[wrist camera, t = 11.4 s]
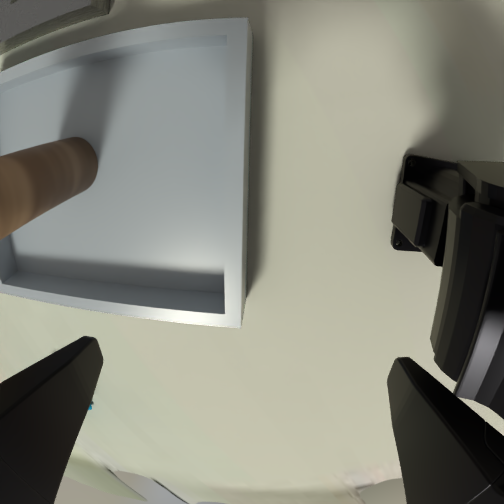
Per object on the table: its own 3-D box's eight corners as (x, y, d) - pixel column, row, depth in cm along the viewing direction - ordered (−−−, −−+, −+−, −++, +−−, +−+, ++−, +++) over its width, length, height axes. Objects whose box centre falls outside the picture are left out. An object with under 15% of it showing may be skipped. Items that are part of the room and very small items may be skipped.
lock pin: (85, 126, 17) (-101, 181, 5) (106, 178, 19) (-62, 284, 6) (46, 153, 18) (-115, 223, 5) (66, 201, 20) (-82, 304, 7)
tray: (253, 34, 15) (247, 17, 12) (246, 299, 23) (240, 328, 20) (-3, 86, 17) (-31, 88, 14) (20, 274, 24) (-1, 292, 21)
